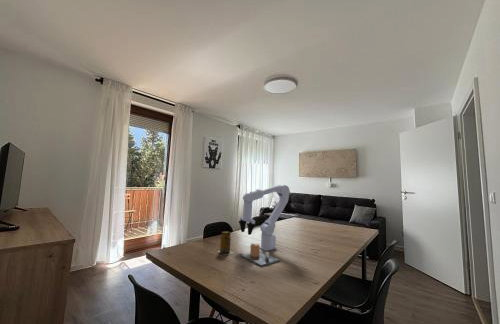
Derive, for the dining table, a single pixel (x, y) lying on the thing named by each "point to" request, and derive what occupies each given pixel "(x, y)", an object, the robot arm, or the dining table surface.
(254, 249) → the knob
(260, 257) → the hub plate
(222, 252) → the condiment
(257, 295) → the dining table surface
